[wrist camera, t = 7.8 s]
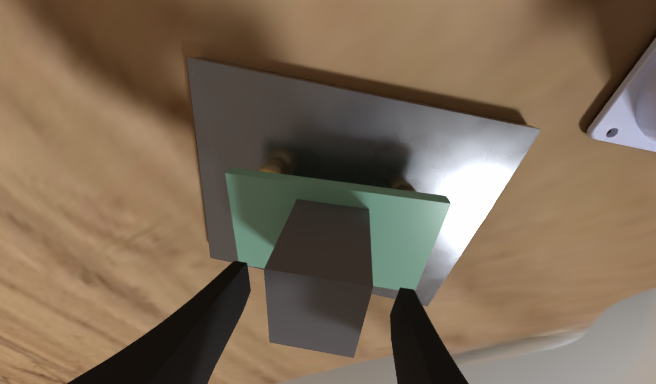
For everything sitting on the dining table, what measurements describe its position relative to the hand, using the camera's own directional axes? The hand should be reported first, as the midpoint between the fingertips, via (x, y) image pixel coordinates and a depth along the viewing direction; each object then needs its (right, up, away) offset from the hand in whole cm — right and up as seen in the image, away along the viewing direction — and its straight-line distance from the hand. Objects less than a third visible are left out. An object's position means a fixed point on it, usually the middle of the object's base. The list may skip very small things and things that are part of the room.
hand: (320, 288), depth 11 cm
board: (0, +2, +4) cm, 4 cm away
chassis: (+1, +4, +7) cm, 8 cm away
